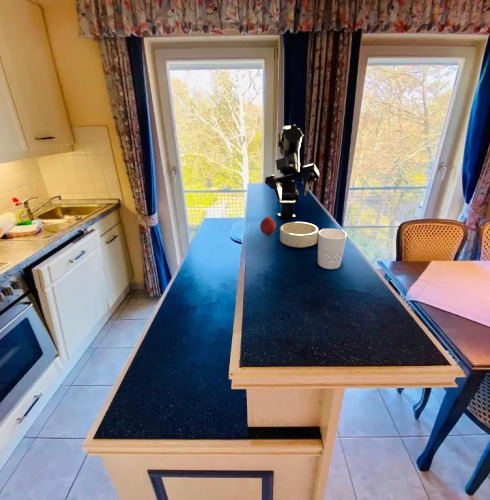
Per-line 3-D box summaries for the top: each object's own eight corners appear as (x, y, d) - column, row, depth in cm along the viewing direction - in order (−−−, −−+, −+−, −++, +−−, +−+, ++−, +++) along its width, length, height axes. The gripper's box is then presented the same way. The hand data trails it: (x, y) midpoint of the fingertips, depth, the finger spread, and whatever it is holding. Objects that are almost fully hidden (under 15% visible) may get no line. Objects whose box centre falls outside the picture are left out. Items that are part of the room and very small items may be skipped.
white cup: (324, 255, 90) (328, 226, 85) (347, 263, 84) (352, 233, 80) (310, 264, 85) (313, 233, 80) (333, 273, 79) (337, 241, 75)
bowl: (273, 237, 104) (274, 224, 102) (304, 232, 108) (305, 220, 106) (290, 251, 93) (291, 237, 91) (324, 245, 97) (325, 231, 95)
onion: (270, 239, 102) (271, 219, 99) (257, 236, 105) (257, 216, 101) (278, 234, 107) (278, 214, 103) (265, 231, 109) (265, 212, 106)
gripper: (257, 155, 99) (256, 195, 95) (308, 139, 90) (309, 182, 86) (272, 170, 109) (271, 207, 104) (318, 156, 99) (320, 197, 95)
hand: (291, 199), depth 97 cm, fingers open, 9 cm apart
